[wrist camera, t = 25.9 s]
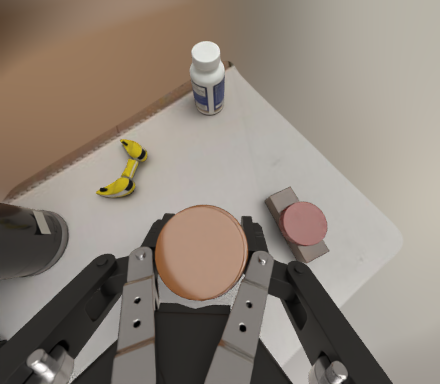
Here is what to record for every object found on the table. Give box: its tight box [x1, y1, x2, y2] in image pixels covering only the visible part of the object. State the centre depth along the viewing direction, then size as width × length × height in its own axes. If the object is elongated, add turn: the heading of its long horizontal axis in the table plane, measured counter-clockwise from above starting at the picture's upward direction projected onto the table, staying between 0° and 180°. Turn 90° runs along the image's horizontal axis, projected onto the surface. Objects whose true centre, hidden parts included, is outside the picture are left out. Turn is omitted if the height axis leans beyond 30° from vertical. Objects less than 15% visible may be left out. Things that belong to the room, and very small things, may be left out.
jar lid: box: [279, 202, 327, 246], centre depth 24 cm, size 6×6×2 cm
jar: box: [155, 205, 248, 301], centre depth 13 cm, size 5×5×10 cm
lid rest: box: [265, 187, 329, 263], centre depth 26 cm, size 4×10×3 cm, turn 25°
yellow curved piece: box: [96, 139, 147, 197], centre depth 29 cm, size 10×6×4 cm, turn 166°
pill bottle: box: [190, 41, 225, 115], centre depth 30 cm, size 5×5×10 cm
